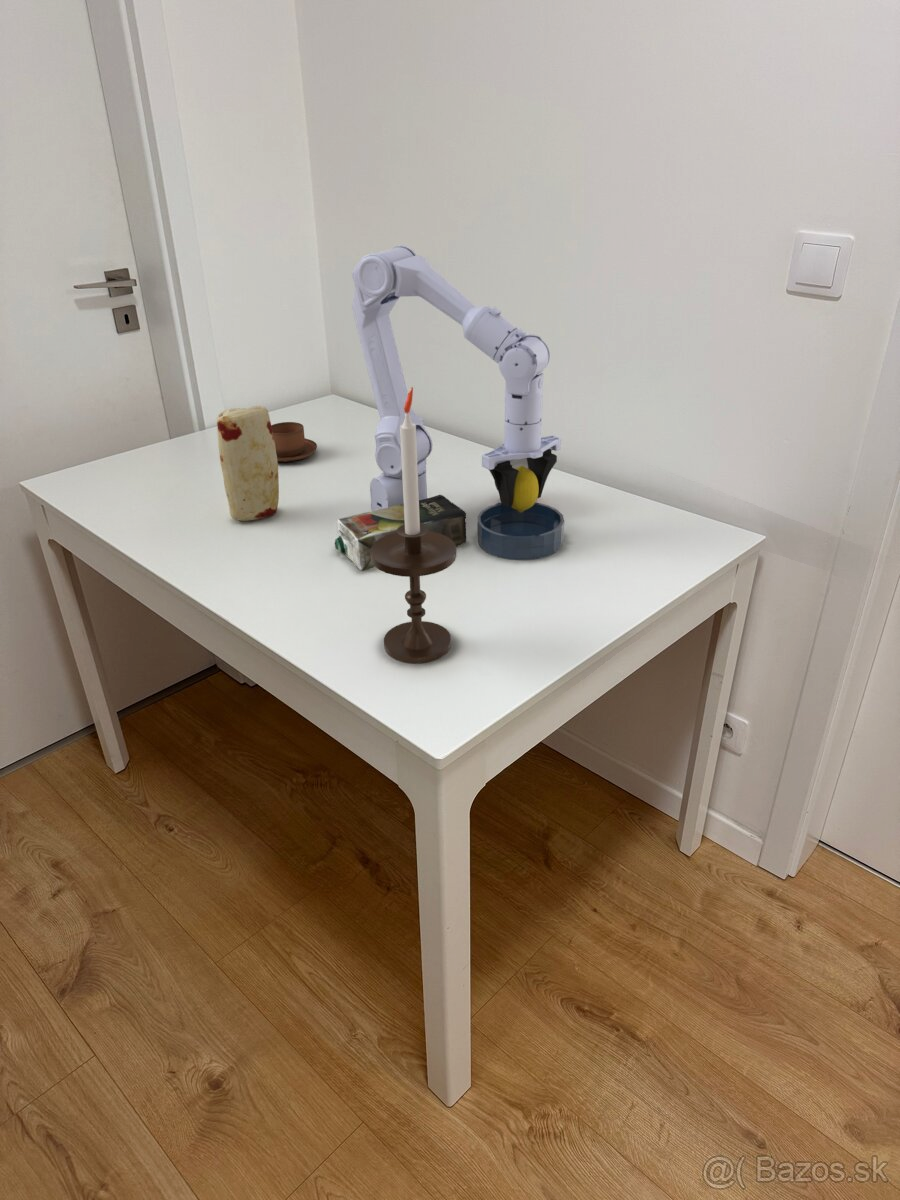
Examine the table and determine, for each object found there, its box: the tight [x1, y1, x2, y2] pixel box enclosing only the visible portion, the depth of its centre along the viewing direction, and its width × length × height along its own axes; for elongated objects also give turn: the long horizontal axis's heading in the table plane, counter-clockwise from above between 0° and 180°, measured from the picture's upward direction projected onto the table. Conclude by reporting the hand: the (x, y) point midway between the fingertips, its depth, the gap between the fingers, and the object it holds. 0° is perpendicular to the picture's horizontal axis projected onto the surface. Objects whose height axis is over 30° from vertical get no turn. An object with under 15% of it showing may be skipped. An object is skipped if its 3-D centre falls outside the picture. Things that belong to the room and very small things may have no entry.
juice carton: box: [334, 494, 467, 571], centre depth 137 cm, size 20×10×6 cm, turn 118°
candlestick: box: [370, 386, 457, 664], centre depth 105 cm, size 11×11×35 cm
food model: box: [216, 405, 280, 522], centre depth 146 cm, size 10×7×20 cm
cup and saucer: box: [271, 421, 318, 463], centre depth 175 cm, size 12×12×6 cm
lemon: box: [512, 466, 539, 513], centre depth 136 cm, size 6×6×8 cm
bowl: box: [476, 501, 565, 561], centre depth 139 cm, size 14×14×4 cm
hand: (520, 500), depth 137 cm, fingers closed on lemon, 5 cm apart
